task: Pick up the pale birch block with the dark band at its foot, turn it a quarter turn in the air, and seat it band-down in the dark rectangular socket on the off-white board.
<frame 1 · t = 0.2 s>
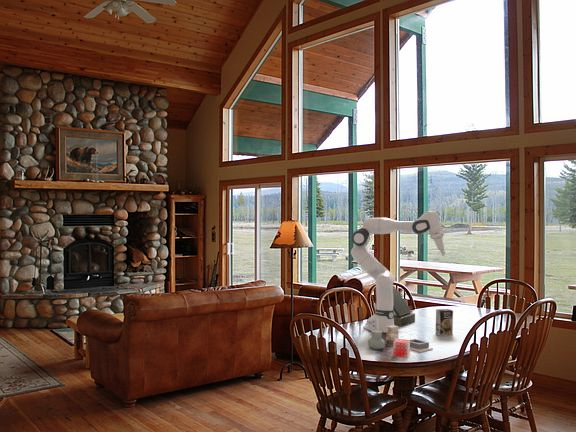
hand: (443, 255, 352), 52 cm above the table, tool tilted 20°, fingers open, 8 cm apart
air freshener: (376, 348, 315), on the table
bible: (395, 323, 390), on the table
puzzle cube: (401, 355, 302), on the table
coffee box: (444, 334, 353), on the table
socket board: (417, 348, 317), on the table
banded block: (392, 342, 329), on the table
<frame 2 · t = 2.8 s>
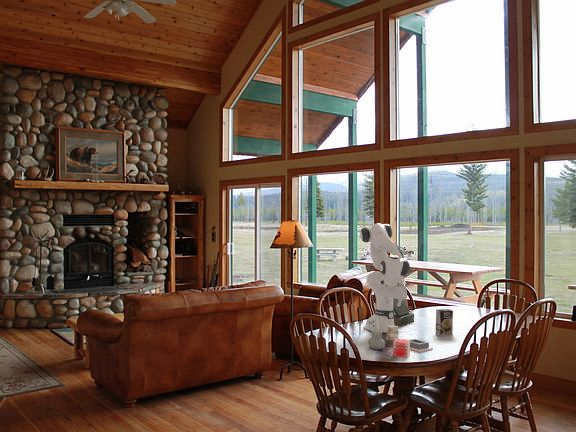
hand: (392, 305, 329), 23 cm above the table, tool pointing down, fingers open, 8 cm apart
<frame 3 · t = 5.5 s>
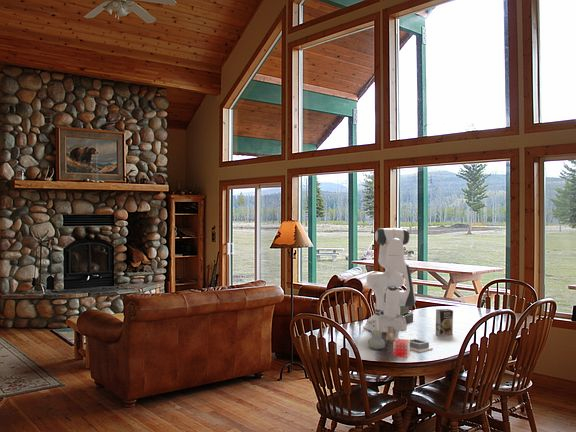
hand: (392, 336, 329), 4 cm above the table, tool pointing down, fingers closed on banded block, 4 cm apart
banded block: (392, 342, 329), on the table, touching gripper
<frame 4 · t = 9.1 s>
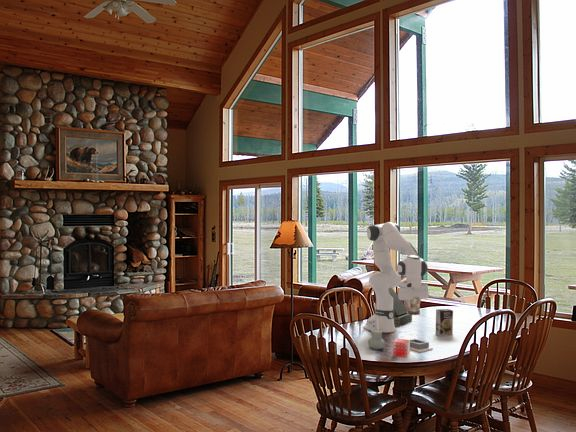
hand: (413, 307, 318), 24 cm above the table, tool pointing down, fingers closed on banded block, 4 cm apart
banded block: (413, 314, 318), point 20 cm above the table, touching gripper
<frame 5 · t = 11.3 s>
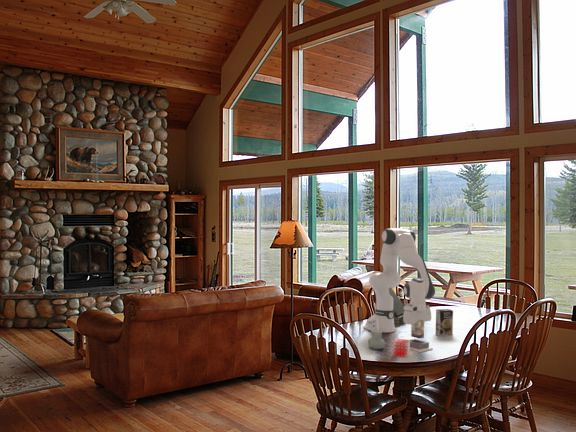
hand: (417, 330, 317), 11 cm above the table, tool pointing down, fingers closed on banded block, 4 cm apart
banded block: (417, 337, 317), point 7 cm above the table, touching gripper
when the fingers open (7 cm above the table, at t = 12.8 s): banded block drops 1 cm, resting on socket board.
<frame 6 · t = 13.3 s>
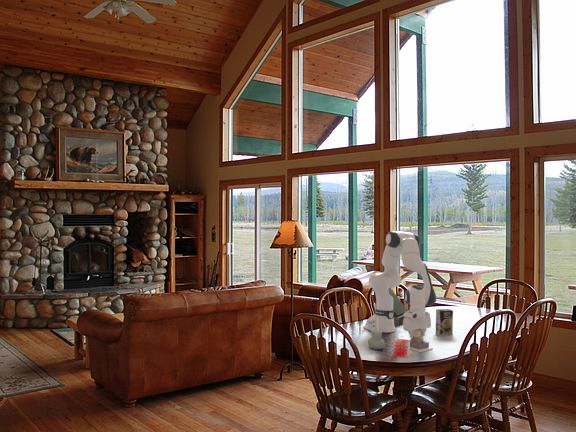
hand: (417, 336, 317), 7 cm above the table, tool pointing down, fingers open, 8 cm apart
banded block: (417, 346, 317), point 1 cm above the table, touching socket board
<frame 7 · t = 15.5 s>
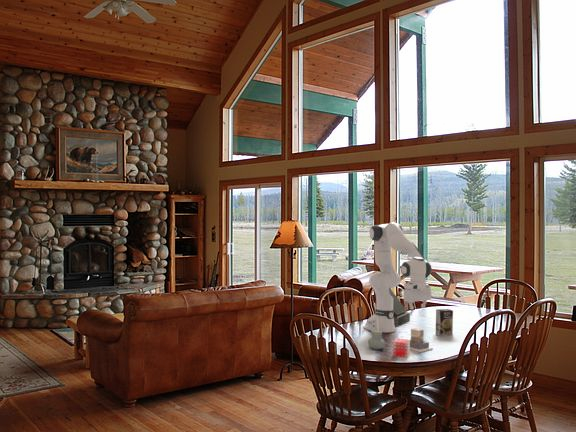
hand: (417, 308, 317), 23 cm above the table, tool pointing down, fingers open, 8 cm apart
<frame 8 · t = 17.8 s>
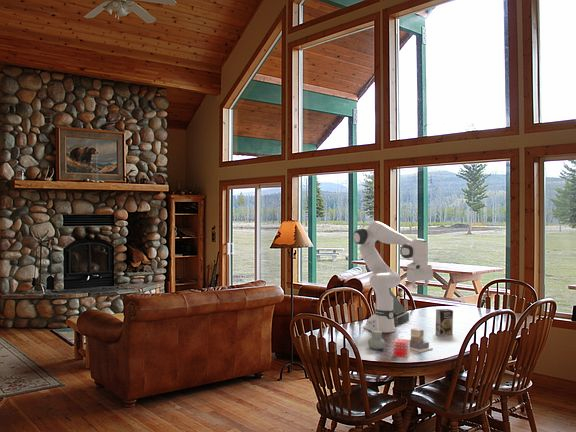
hand: (420, 287, 332), 33 cm above the table, tool pointing down, fingers open, 8 cm apart
at the end: banded block 0.0 cm off-centre on the socket board, point 1.0 cm above the socket board's base; banded block tilted 0°; the gripper is holding nothing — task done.
